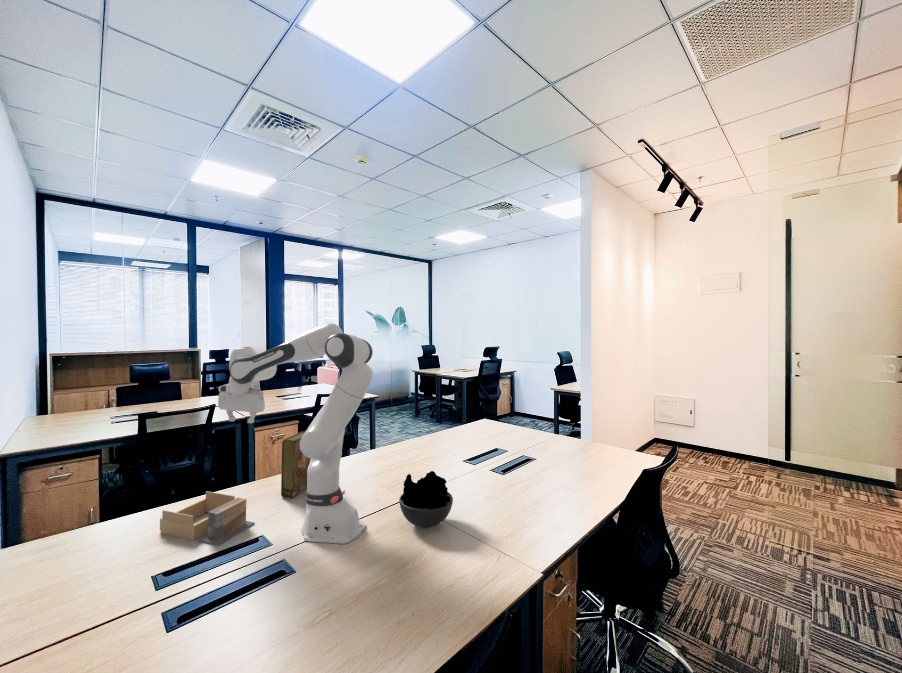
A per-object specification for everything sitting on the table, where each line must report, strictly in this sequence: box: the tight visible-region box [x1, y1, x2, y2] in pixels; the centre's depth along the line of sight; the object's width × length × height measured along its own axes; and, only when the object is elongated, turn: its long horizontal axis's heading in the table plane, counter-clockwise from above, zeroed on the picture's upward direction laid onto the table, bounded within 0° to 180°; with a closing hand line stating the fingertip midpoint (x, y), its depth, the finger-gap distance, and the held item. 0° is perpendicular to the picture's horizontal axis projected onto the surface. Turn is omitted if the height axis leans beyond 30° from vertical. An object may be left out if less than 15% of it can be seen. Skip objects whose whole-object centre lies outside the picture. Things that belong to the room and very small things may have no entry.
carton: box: [159, 490, 236, 541], centre depth 136 cm, size 16×17×8 cm
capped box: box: [207, 497, 247, 540], centre depth 131 cm, size 4×12×9 cm, turn 163°
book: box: [280, 430, 311, 499], centre depth 167 cm, size 16×6×25 cm, turn 168°
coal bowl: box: [398, 470, 454, 529], centre depth 139 cm, size 20×20×19 cm
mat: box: [197, 520, 255, 547], centre depth 131 cm, size 9×15×1 cm, turn 164°
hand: (241, 421), depth 148 cm, fingers open, 8 cm apart
